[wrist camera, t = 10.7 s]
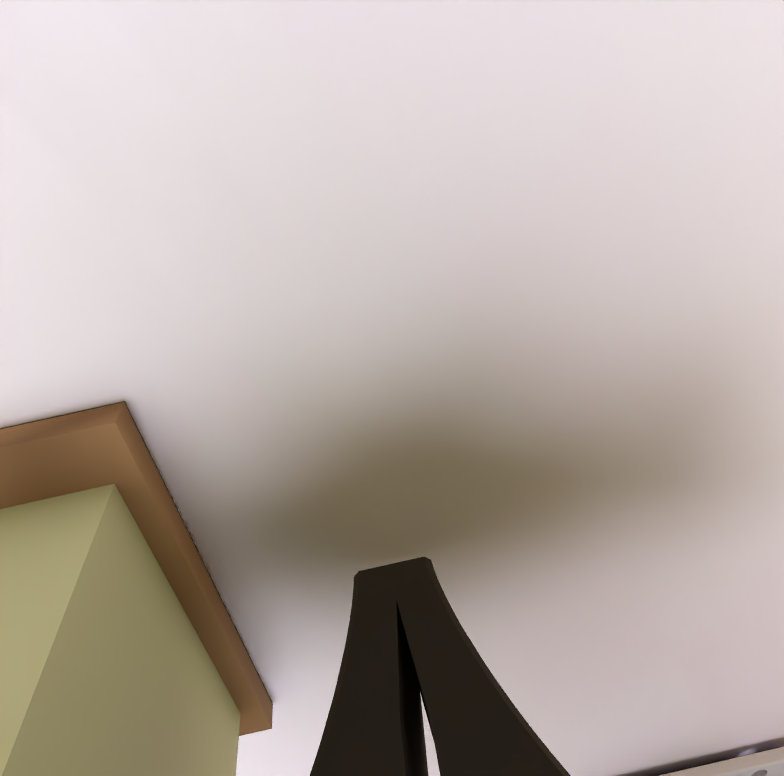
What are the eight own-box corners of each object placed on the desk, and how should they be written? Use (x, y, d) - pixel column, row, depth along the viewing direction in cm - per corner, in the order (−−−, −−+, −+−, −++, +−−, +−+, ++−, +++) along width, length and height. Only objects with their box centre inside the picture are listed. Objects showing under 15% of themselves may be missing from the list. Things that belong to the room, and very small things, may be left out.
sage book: (114, 483, 11) (-10, 804, 6) (240, 712, 14) (216, 1012, 10) (-120, 535, 10) (-405, 895, 6) (67, 752, 14) (-31, 1070, 10)
